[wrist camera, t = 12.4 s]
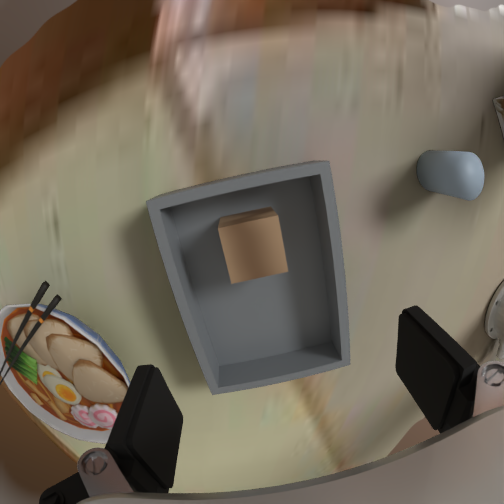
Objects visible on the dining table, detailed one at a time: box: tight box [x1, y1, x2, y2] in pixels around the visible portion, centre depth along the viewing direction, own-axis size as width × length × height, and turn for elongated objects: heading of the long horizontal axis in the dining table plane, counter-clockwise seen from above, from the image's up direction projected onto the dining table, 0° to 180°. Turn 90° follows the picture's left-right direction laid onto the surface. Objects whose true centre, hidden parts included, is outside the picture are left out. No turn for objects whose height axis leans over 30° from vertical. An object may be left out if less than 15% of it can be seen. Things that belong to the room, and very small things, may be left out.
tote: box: [146, 161, 350, 395], centre depth 30 cm, size 22×16×5 cm
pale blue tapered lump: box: [417, 150, 484, 200], centre depth 26 cm, size 5×5×7 cm
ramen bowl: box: [0, 281, 130, 444], centre depth 30 cm, size 25×23×8 cm
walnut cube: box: [218, 206, 288, 284], centre depth 27 cm, size 5×5×5 cm
